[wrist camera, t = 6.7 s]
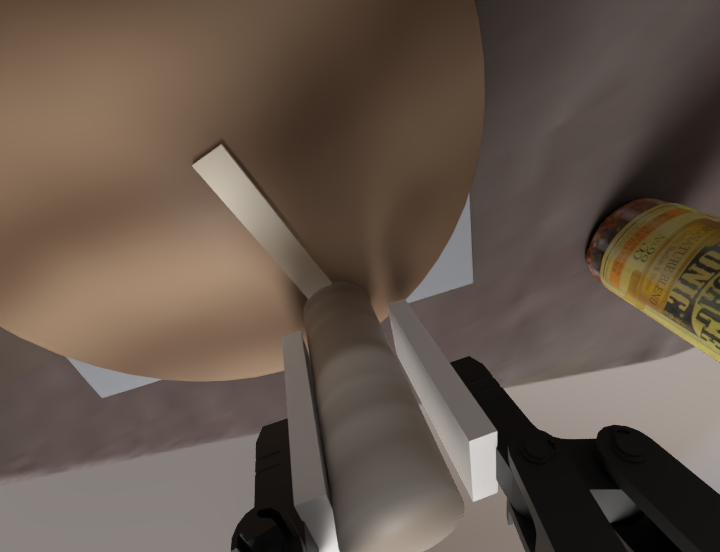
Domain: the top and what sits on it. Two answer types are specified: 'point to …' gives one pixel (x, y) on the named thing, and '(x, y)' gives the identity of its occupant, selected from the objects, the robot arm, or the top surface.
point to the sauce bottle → (664, 266)
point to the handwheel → (246, 207)
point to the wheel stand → (442, 277)
